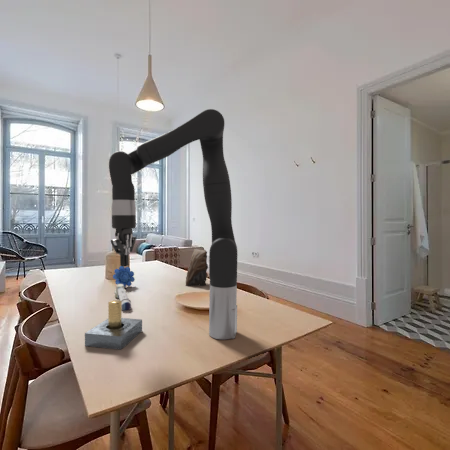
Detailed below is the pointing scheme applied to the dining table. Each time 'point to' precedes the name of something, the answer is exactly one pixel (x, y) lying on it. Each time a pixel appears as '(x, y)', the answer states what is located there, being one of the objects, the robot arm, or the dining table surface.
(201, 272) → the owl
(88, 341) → the plate
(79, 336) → the dining table surface
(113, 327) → the brass plug
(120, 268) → the blue flower
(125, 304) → the white electric toothbrush
